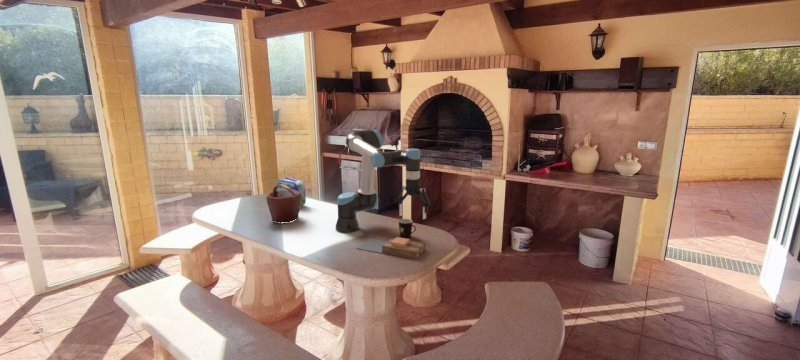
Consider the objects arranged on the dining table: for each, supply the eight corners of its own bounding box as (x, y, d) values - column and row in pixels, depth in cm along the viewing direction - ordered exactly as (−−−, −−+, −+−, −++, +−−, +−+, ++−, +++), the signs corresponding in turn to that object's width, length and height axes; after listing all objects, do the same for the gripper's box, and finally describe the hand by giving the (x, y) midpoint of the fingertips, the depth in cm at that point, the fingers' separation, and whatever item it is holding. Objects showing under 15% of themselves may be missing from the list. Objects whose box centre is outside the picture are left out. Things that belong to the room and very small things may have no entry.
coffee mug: (396, 235, 239) (396, 219, 236) (408, 233, 242) (409, 218, 240) (403, 241, 228) (403, 225, 226) (416, 239, 231) (417, 223, 229)
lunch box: (276, 203, 308) (274, 177, 303) (287, 200, 316) (285, 175, 311) (295, 209, 292) (294, 182, 287) (307, 206, 300) (306, 179, 295)
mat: (369, 239, 232) (369, 238, 232) (393, 243, 226) (393, 242, 225) (356, 248, 218) (356, 248, 218) (381, 253, 211) (381, 252, 211)
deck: (392, 243, 225) (392, 237, 224) (424, 249, 217) (425, 243, 216) (382, 252, 212) (382, 246, 211) (415, 259, 204) (415, 252, 203)
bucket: (306, 221, 263) (304, 186, 258) (273, 227, 251) (271, 191, 245) (294, 212, 283) (292, 179, 277) (263, 218, 271) (260, 183, 265)
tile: (397, 240, 219) (397, 237, 219) (409, 242, 216) (409, 239, 216) (391, 245, 212) (391, 241, 212) (404, 247, 209) (404, 244, 209)
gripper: (388, 177, 203) (388, 215, 207) (432, 181, 193) (432, 222, 197) (394, 174, 210) (394, 212, 214) (437, 179, 199) (437, 218, 204)
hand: (412, 217), depth 206 cm, fingers open, 13 cm apart
